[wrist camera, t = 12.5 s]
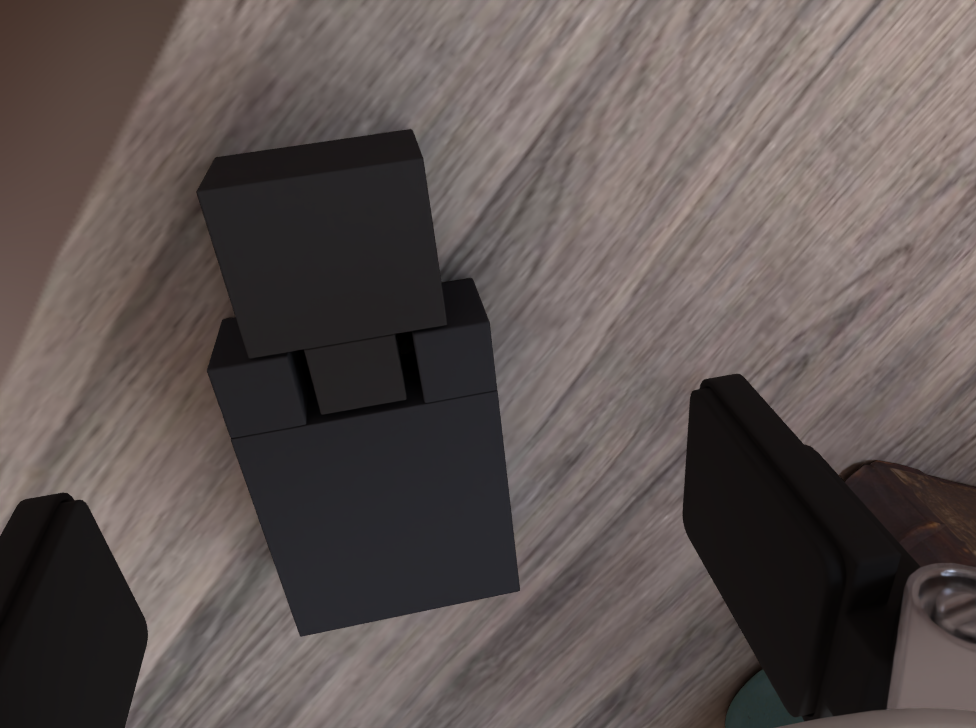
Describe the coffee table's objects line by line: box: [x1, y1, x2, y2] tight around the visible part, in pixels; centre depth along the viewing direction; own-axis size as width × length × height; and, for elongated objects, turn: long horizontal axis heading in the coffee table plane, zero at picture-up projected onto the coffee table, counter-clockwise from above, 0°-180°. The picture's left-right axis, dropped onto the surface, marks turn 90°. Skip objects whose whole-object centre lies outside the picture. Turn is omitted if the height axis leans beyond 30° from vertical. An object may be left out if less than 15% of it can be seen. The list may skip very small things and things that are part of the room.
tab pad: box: [197, 129, 447, 415], centre depth 27 cm, size 9×7×4 cm
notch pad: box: [207, 278, 520, 636], centre depth 31 cm, size 14×10×4 cm
